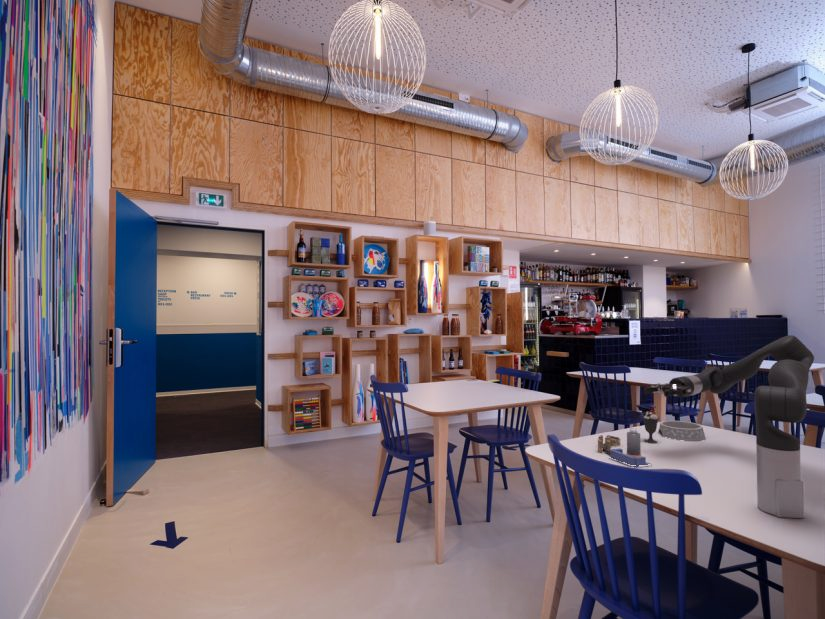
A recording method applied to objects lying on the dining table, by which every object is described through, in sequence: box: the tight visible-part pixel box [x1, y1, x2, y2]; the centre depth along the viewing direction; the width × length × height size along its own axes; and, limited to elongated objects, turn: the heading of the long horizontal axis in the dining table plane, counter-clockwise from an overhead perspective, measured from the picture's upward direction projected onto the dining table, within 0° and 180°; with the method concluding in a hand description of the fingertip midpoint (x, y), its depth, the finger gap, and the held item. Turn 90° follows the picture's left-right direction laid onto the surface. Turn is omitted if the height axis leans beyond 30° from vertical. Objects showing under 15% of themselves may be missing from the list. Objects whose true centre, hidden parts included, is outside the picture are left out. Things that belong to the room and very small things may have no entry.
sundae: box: [641, 406, 660, 444], centre depth 190 cm, size 7×7×15 cm
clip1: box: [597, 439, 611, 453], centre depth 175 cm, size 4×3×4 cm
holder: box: [609, 447, 651, 468], centre depth 163 cm, size 8×12×3 cm, turn 20°
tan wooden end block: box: [604, 434, 621, 448], centre depth 185 cm, size 4×4×3 cm
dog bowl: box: [658, 420, 707, 442], centre depth 199 cm, size 17×18×5 cm
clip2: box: [597, 434, 612, 449], centre depth 181 cm, size 4×3×4 cm
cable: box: [602, 442, 612, 455], centre depth 178 cm, size 16×4×1 cm, turn 155°
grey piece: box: [625, 427, 642, 457], centre depth 164 cm, size 5×5×11 cm
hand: (654, 392), depth 167 cm, fingers open, 8 cm apart
